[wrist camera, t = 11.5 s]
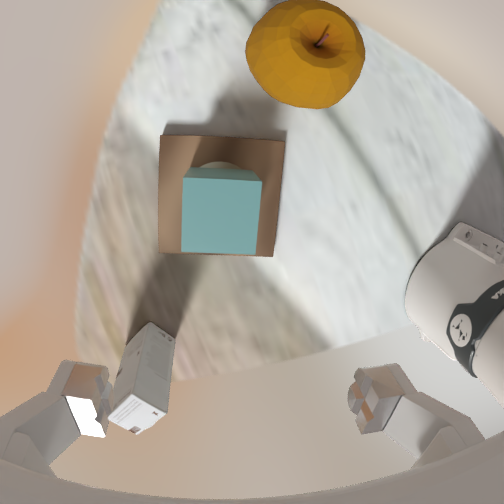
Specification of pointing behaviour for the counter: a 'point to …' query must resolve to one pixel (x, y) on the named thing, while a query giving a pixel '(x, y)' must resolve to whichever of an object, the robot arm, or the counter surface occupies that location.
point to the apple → (306, 53)
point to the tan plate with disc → (217, 156)
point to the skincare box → (143, 380)
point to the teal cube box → (220, 211)
